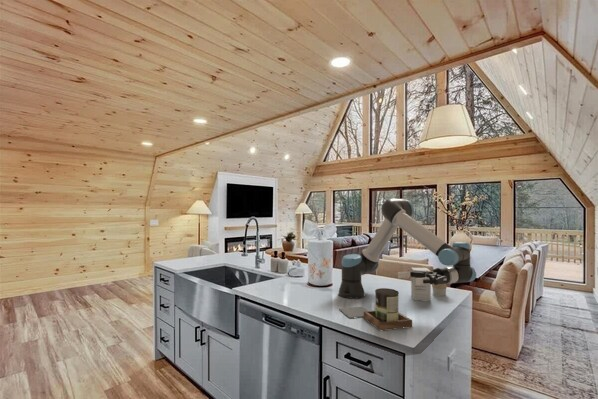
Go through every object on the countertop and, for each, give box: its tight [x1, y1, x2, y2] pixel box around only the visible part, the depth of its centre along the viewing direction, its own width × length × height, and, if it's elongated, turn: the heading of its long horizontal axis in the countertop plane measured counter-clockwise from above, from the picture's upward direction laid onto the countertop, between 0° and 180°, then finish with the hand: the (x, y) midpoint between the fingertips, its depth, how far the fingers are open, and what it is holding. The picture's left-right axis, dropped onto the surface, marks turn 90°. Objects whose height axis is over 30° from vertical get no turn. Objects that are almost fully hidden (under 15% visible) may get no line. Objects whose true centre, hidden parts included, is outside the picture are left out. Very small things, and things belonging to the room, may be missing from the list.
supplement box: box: [410, 267, 432, 302], centre depth 175 cm, size 10×9×17 cm
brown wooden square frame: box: [363, 309, 413, 331], centre depth 138 cm, size 15×15×3 cm
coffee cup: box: [431, 268, 448, 297], centre depth 183 cm, size 9×9×15 cm
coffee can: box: [374, 287, 400, 322], centre depth 138 cm, size 10×10×14 cm
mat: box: [338, 306, 369, 319], centre depth 150 cm, size 13×13×1 cm
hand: (406, 278), depth 140 cm, fingers open, 13 cm apart
